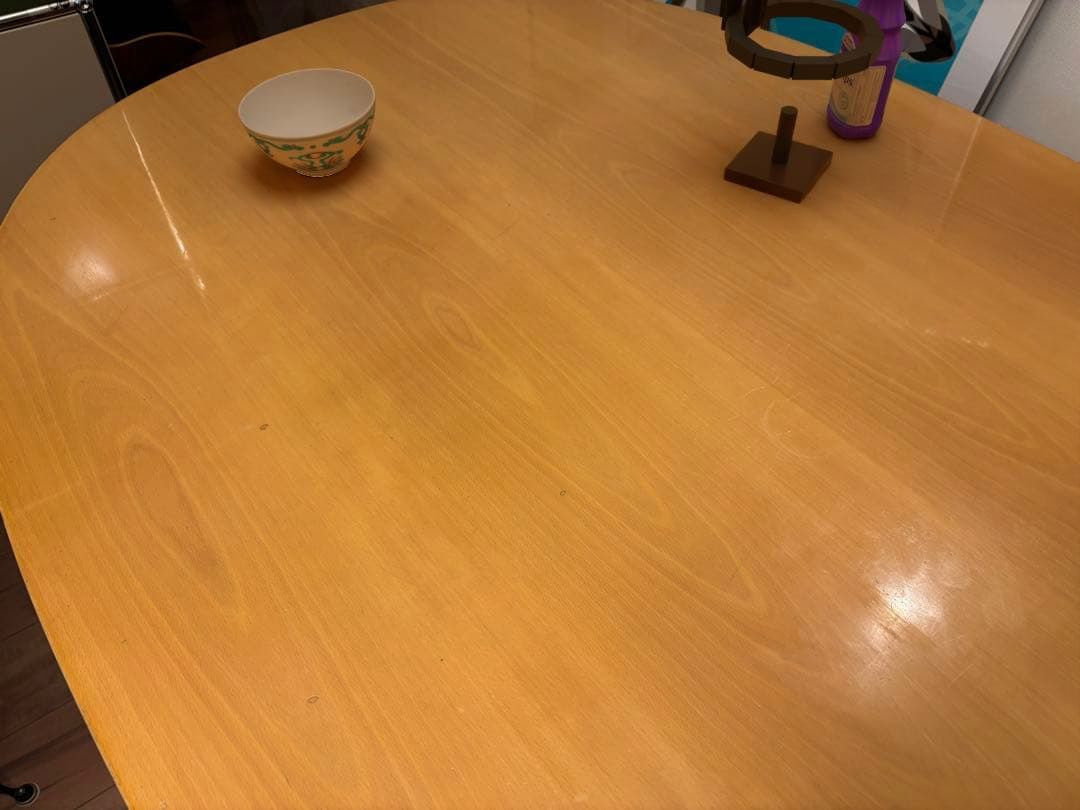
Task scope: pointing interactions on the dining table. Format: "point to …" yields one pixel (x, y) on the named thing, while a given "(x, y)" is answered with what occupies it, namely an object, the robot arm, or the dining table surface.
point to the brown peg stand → (779, 161)
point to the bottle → (868, 75)
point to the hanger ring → (821, 6)
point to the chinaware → (310, 118)
